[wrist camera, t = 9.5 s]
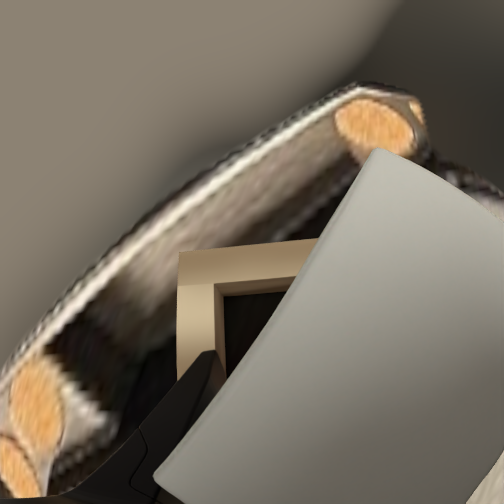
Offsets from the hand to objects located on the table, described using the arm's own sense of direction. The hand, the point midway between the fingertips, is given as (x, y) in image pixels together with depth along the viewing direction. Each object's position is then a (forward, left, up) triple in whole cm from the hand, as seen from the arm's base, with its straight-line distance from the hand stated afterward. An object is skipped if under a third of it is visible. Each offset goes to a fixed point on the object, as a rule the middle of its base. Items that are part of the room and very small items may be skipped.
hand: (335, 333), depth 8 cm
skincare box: (-1, 0, -7) cm, 7 cm away
